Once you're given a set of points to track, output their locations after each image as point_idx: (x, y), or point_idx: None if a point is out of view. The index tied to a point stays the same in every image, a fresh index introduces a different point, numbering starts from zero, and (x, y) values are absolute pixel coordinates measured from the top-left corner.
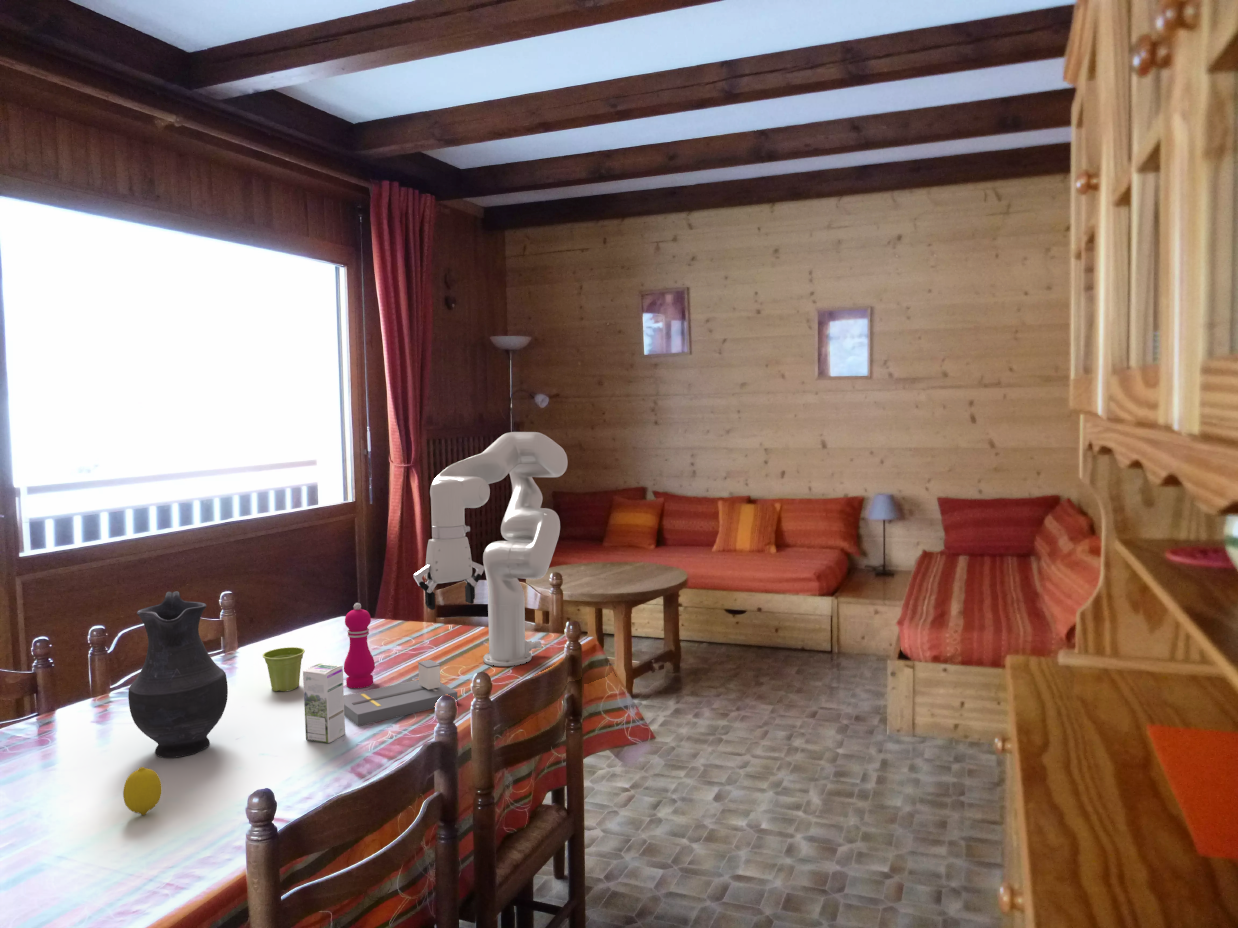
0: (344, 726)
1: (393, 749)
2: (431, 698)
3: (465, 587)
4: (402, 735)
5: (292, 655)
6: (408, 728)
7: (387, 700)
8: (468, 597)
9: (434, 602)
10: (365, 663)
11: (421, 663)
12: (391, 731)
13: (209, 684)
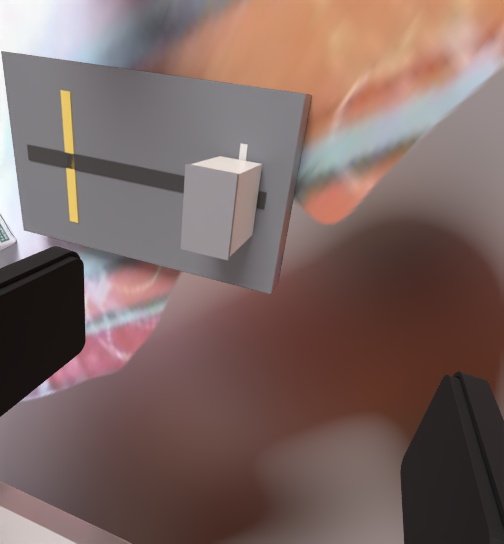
0: (1, 247)
1: (65, 365)
2: (196, 273)
3: (478, 530)
4: (97, 333)
5: None
6: (118, 315)
7: (103, 199)
8: (422, 473)
9: (40, 378)
10: None
11: (186, 192)
12: (88, 301)
13: None
